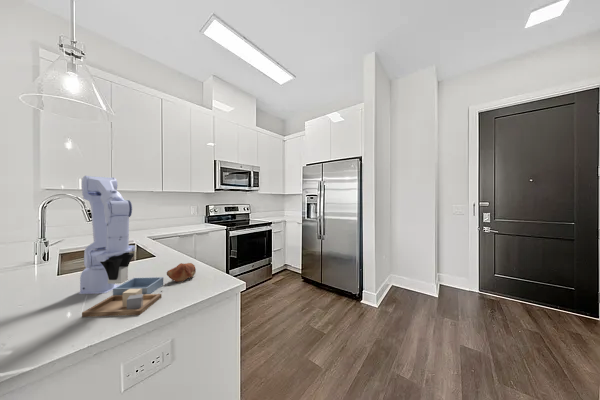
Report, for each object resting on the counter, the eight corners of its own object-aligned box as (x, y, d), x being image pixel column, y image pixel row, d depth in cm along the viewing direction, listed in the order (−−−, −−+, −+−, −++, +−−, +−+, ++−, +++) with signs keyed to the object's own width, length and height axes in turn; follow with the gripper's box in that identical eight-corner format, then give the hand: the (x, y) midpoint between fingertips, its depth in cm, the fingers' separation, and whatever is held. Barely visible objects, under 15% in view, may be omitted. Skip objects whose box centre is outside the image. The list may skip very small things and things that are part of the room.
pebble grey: (107, 283, 72) (107, 269, 72) (115, 280, 76) (115, 266, 76) (120, 283, 73) (120, 269, 73) (127, 279, 76) (127, 266, 76)
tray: (81, 318, 65) (81, 312, 65) (112, 300, 77) (112, 295, 77) (139, 316, 66) (140, 310, 66) (161, 298, 78) (161, 293, 78)
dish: (112, 298, 78) (112, 288, 78) (133, 286, 89) (134, 277, 89) (146, 298, 79) (146, 288, 79) (163, 285, 90) (163, 277, 90)
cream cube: (122, 307, 71) (122, 292, 71) (129, 302, 74) (129, 288, 74) (135, 306, 71) (135, 292, 71) (141, 302, 75) (142, 288, 75)
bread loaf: (167, 278, 88) (173, 254, 94) (158, 283, 93) (165, 260, 99) (198, 282, 96) (202, 260, 102) (189, 287, 101) (193, 265, 107)
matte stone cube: (126, 312, 67) (126, 299, 67) (129, 308, 70) (129, 295, 70) (141, 310, 69) (141, 297, 69) (143, 306, 72) (143, 293, 72)
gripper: (114, 240, 67) (113, 285, 67) (144, 233, 82) (143, 270, 82) (89, 240, 67) (88, 286, 67) (123, 233, 81) (123, 270, 81)
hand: (117, 277), depth 74 cm, fingers closed on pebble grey, 3 cm apart
